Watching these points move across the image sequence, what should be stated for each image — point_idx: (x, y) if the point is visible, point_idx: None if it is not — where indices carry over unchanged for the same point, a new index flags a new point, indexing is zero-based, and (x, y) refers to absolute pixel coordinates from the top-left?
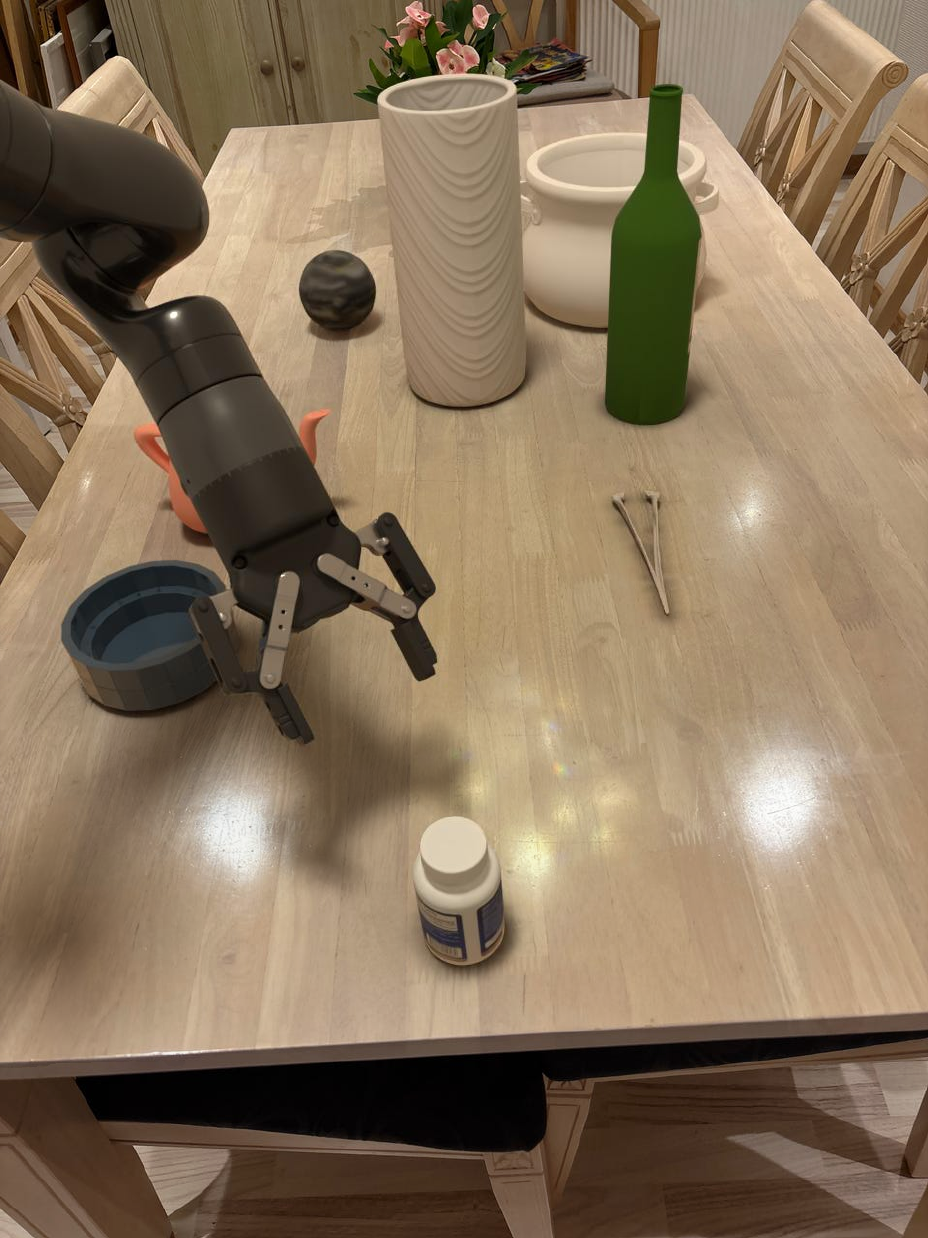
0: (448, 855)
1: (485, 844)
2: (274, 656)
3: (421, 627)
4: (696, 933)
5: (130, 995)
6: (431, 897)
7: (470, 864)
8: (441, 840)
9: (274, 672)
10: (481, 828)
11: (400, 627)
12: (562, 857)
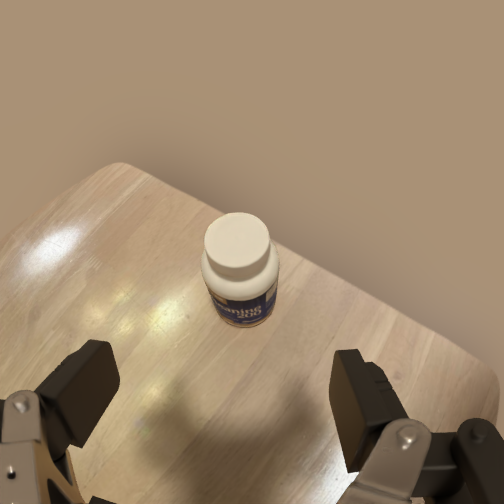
0: (248, 230)
1: (213, 222)
2: (386, 479)
3: (41, 385)
4: (142, 219)
5: (453, 381)
6: (274, 247)
7: (238, 213)
8: (243, 246)
9: (393, 447)
10: (204, 236)
11: (59, 401)
12: (152, 301)
